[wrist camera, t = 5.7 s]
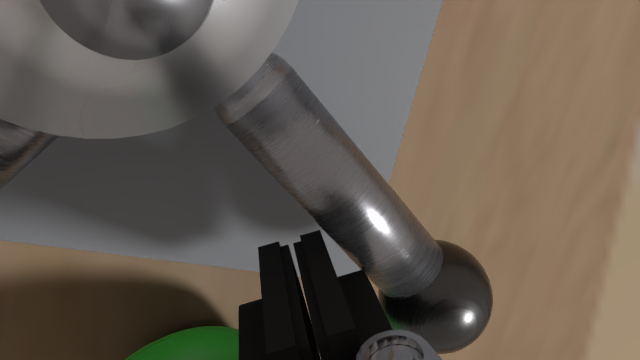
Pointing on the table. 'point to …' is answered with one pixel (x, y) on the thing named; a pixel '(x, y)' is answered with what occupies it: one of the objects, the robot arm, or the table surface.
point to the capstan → (240, 119)
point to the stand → (228, 153)
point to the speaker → (193, 345)
